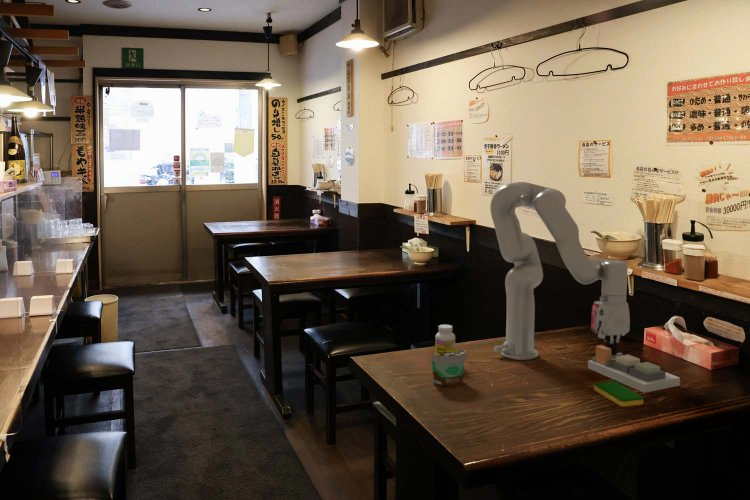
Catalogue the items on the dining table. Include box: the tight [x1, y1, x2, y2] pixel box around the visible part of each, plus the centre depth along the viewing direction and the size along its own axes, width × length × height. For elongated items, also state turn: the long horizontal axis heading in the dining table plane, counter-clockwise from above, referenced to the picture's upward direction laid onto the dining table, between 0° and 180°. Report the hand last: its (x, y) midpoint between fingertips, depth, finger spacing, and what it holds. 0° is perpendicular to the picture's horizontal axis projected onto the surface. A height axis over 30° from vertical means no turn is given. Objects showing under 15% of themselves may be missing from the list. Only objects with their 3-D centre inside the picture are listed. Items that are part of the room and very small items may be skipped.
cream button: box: [616, 354, 641, 366], centre depth 204 cm, size 5×5×2 cm
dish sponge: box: [593, 380, 644, 407], centre depth 188 cm, size 7×14×2 cm, turn 14°
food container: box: [429, 347, 468, 388], centre depth 198 cm, size 12×6×10 cm, turn 117°
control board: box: [587, 352, 681, 394], centre depth 204 cm, size 14×24×4 cm, turn 23°
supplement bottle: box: [434, 324, 456, 356], centre depth 218 cm, size 7×7×13 cm
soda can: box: [590, 300, 601, 335], centre depth 252 cm, size 7×7×12 cm
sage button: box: [635, 361, 661, 374], centre depth 197 cm, size 5×5×2 cm
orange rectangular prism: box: [594, 344, 612, 365], centre depth 209 cm, size 2×4×5 cm, turn 23°
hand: (611, 354), depth 210 cm, fingers closed
